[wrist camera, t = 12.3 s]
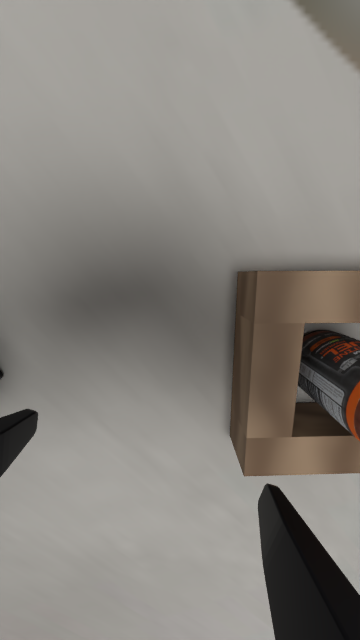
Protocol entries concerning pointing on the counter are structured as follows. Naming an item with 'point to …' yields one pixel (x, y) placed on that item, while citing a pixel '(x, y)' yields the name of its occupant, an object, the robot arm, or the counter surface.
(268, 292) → the walnut well
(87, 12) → the counter surface
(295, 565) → the robot arm
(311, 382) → the supplement bottle
